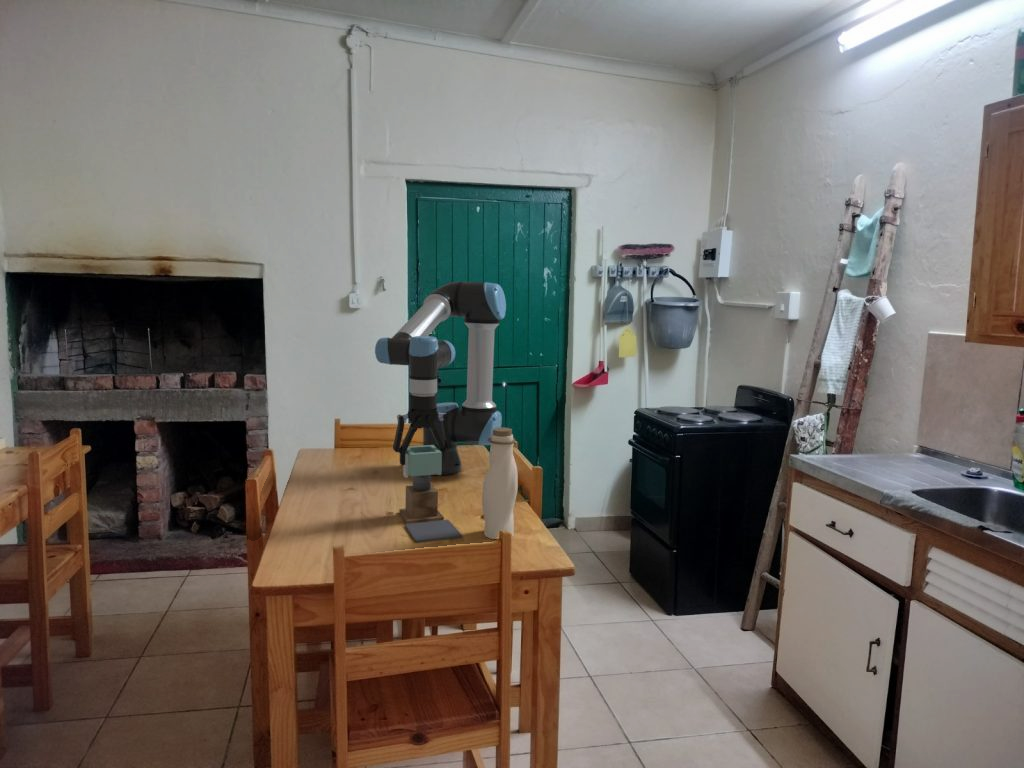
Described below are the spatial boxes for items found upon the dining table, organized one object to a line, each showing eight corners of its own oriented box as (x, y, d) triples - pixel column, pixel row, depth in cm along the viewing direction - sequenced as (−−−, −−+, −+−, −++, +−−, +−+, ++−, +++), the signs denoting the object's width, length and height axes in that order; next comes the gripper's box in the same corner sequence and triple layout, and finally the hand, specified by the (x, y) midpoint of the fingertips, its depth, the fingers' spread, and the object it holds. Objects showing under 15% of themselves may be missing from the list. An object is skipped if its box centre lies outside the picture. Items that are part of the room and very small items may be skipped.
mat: (448, 521, 185) (448, 519, 185) (461, 537, 174) (461, 535, 174) (404, 526, 180) (404, 524, 180) (416, 542, 169) (416, 540, 169)
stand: (433, 509, 195) (434, 451, 192) (443, 520, 185) (444, 460, 183) (399, 512, 191) (399, 453, 188) (407, 524, 182) (408, 463, 179)
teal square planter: (433, 465, 192) (433, 444, 191) (441, 473, 184) (441, 452, 183) (403, 467, 189) (403, 446, 188) (410, 476, 181) (410, 454, 180)
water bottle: (480, 526, 182) (483, 424, 178) (513, 526, 183) (517, 424, 179) (481, 540, 172) (485, 432, 168) (517, 540, 173) (521, 433, 169)
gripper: (456, 390, 190) (455, 468, 194) (380, 392, 182) (380, 474, 186) (465, 394, 184) (463, 475, 187) (386, 397, 176) (386, 482, 179)
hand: (422, 474), depth 187 cm, fingers closed on teal square planter, 8 cm apart
